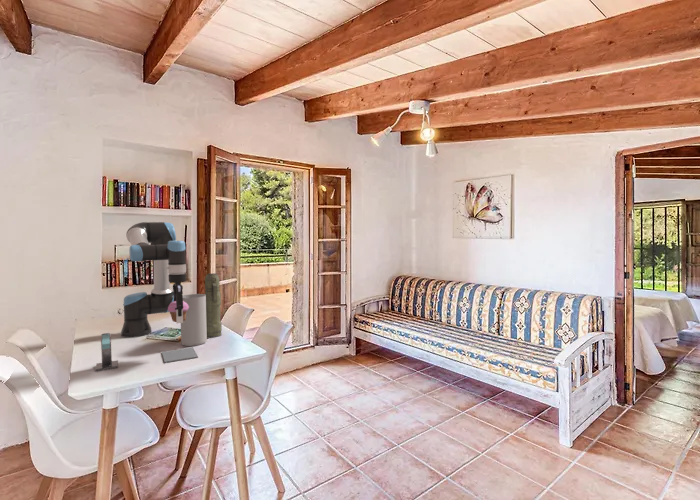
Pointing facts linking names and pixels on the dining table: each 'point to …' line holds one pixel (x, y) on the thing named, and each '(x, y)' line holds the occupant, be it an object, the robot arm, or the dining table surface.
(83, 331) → the dining table surface
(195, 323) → the cylinder vase
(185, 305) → the cupcake
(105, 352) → the post
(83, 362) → the dining table surface
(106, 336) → the bar
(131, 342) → the dining table surface
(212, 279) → the thermos
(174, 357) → the rubber mat
